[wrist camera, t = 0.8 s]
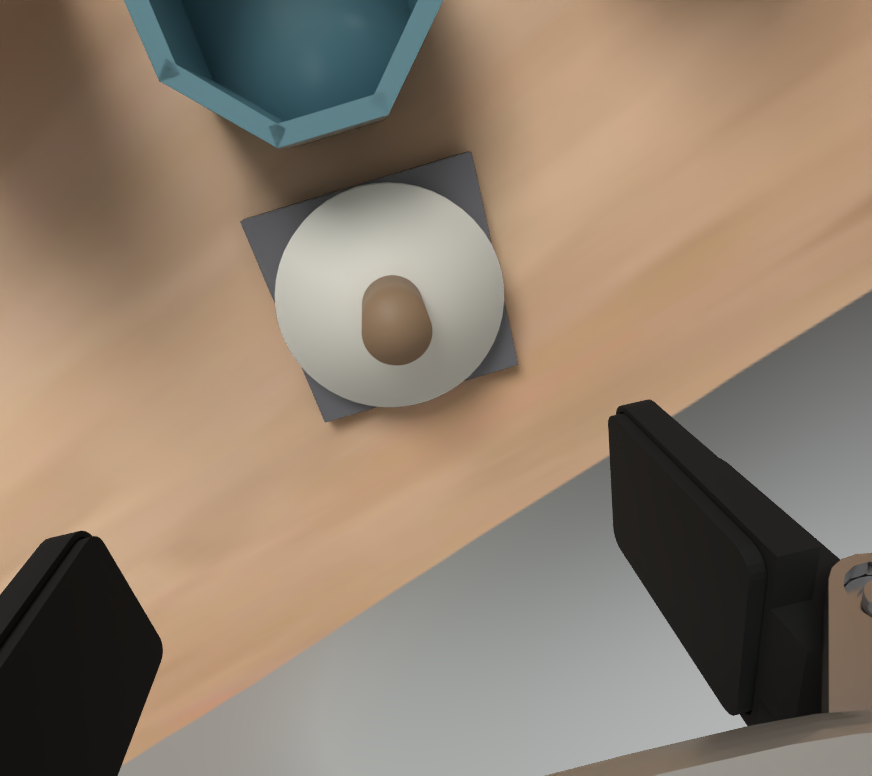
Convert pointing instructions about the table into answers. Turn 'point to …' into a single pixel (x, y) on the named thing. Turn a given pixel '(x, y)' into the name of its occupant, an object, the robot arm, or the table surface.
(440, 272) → the lid
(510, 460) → the table surface
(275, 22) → the pot
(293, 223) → the mat
